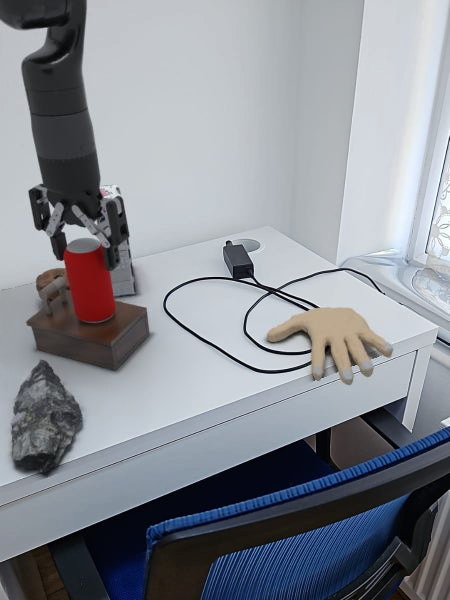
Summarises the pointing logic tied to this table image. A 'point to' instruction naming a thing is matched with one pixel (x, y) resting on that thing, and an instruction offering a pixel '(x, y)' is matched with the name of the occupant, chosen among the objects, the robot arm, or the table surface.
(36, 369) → the rock
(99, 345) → the brown wooden box
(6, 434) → the table surface
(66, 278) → the artifact
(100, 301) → the beverage can
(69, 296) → the cover
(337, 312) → the hand model
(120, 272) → the candy bar box
